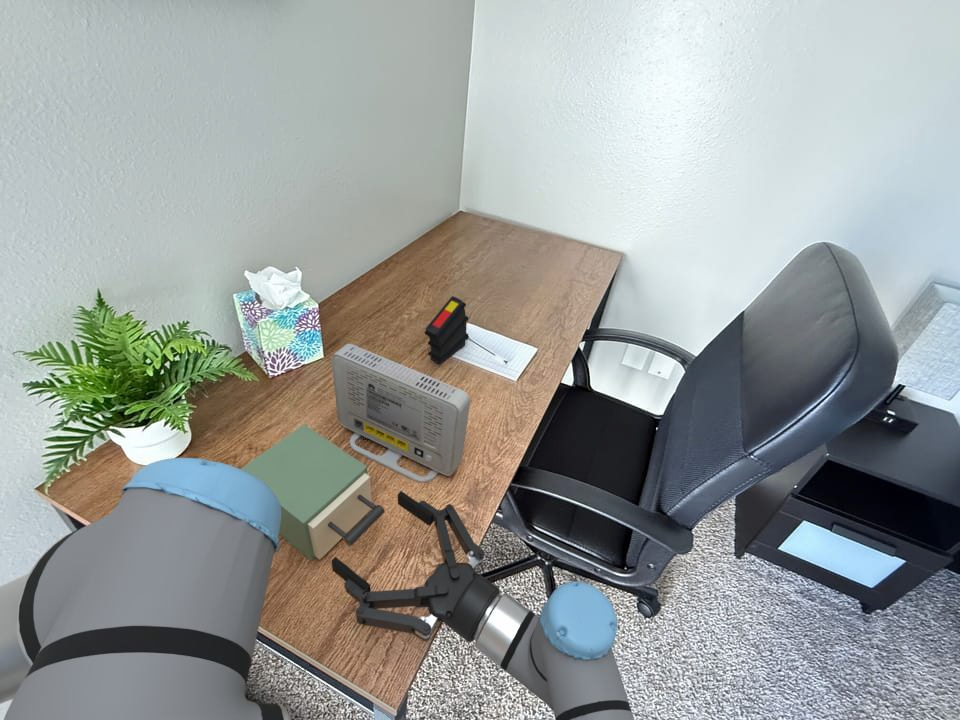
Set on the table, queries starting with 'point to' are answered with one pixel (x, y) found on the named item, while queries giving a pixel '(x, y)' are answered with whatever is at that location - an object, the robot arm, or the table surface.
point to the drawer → (344, 517)
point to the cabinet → (304, 480)
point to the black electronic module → (447, 330)
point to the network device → (400, 412)
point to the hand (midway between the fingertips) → (368, 528)
